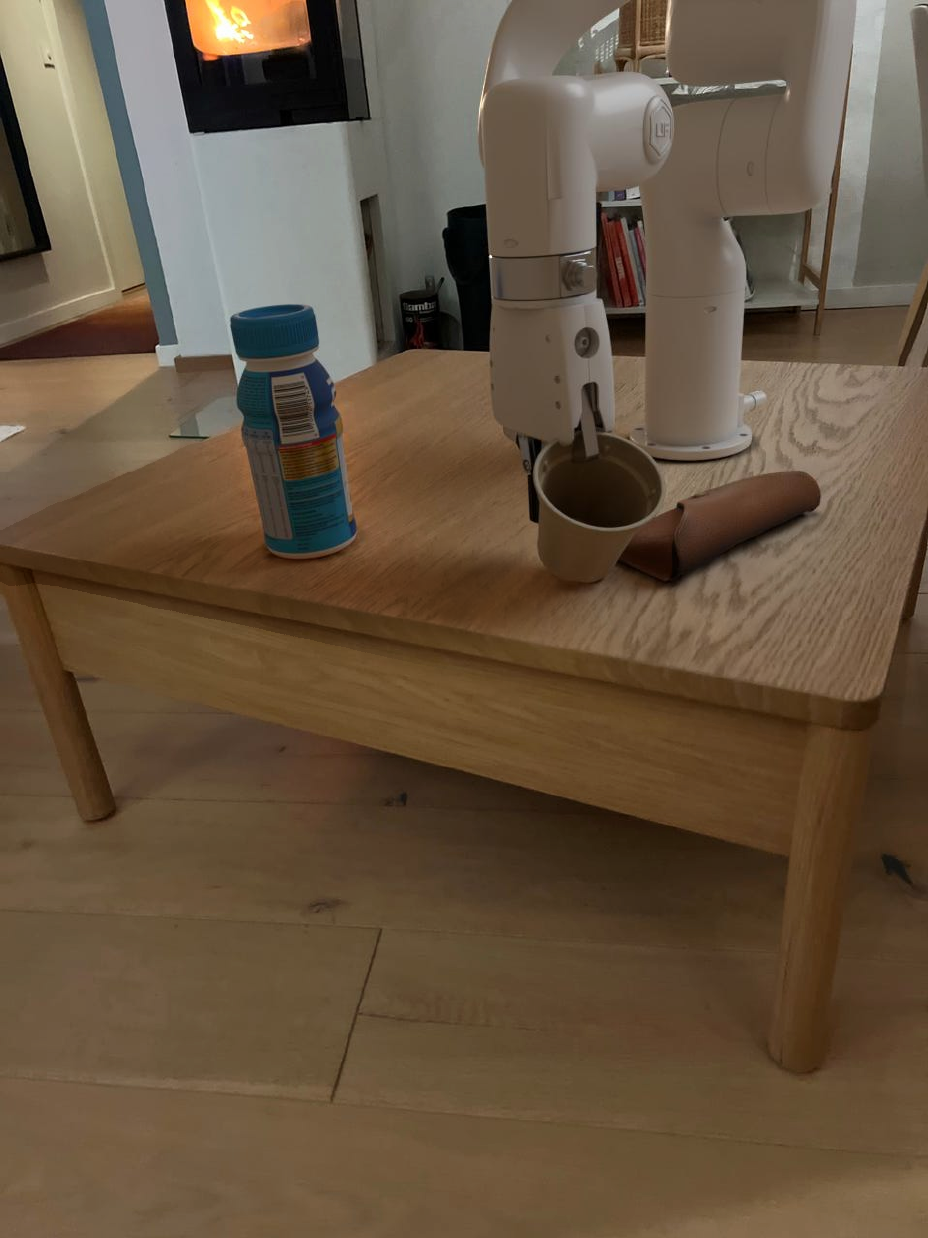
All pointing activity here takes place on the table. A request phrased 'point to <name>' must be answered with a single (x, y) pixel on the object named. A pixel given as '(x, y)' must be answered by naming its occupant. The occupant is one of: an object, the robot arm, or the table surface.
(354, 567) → the table surface
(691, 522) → the sunglasses case
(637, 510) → the flower pot
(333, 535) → the beverage bottle
